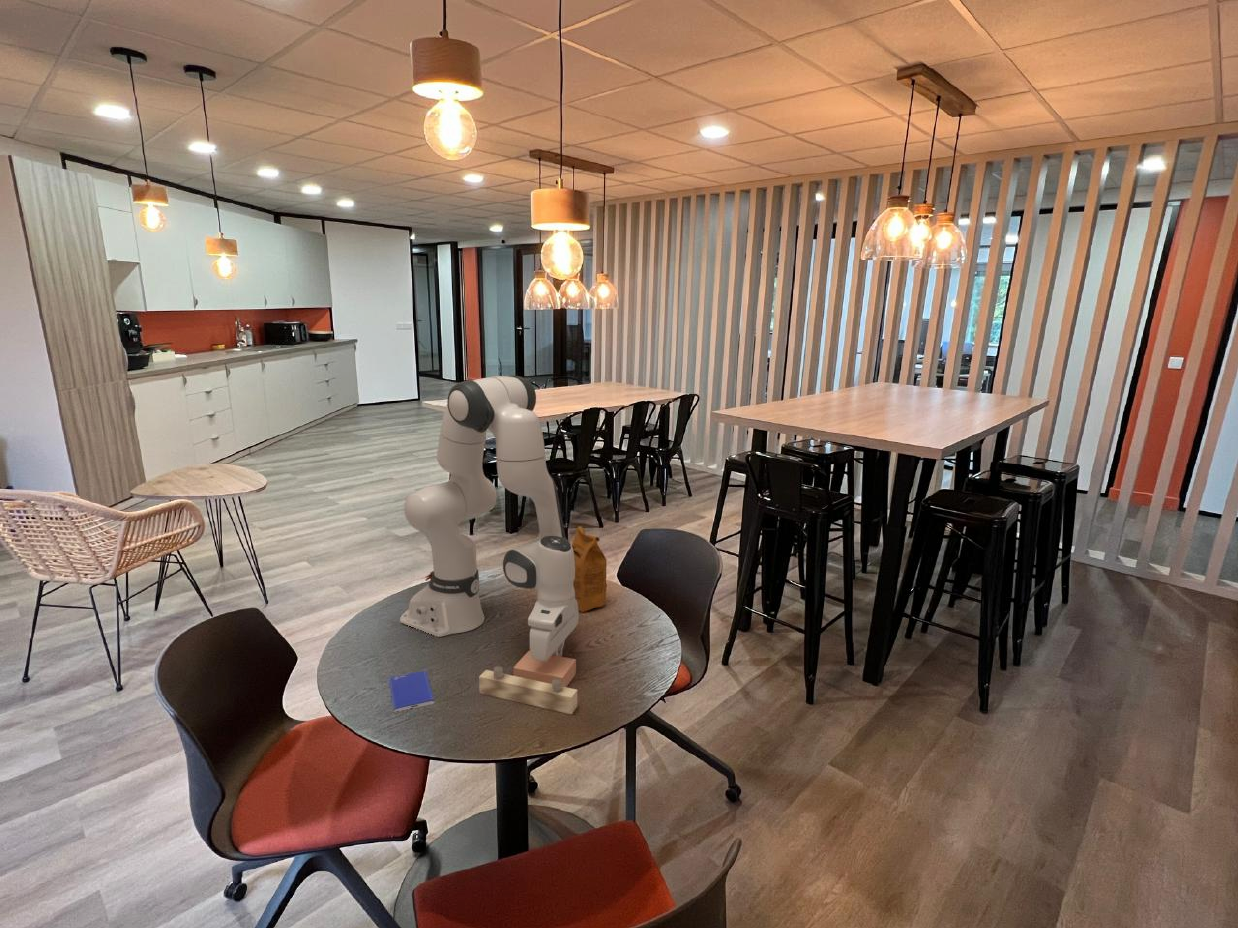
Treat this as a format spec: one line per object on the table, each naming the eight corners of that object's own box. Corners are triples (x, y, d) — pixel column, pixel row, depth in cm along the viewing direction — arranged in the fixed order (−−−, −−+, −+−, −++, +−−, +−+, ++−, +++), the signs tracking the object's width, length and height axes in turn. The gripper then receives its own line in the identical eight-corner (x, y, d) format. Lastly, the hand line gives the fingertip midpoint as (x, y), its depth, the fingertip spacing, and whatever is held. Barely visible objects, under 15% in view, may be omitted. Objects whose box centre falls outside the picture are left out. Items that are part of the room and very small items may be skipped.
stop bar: (479, 692, 139) (478, 668, 137) (486, 685, 142) (485, 661, 140) (571, 714, 132) (571, 688, 131) (577, 706, 135) (577, 681, 133)
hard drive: (388, 677, 142) (393, 708, 131) (426, 669, 146) (434, 699, 135) (389, 683, 143) (394, 714, 132) (426, 675, 146) (434, 705, 135)
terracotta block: (513, 683, 143) (513, 667, 142) (529, 665, 151) (529, 650, 150) (562, 693, 140) (562, 677, 139) (575, 674, 147) (576, 659, 146)
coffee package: (592, 591, 191) (592, 522, 186) (610, 608, 180) (611, 535, 175) (561, 597, 187) (561, 526, 182) (578, 614, 176) (578, 540, 171)
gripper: (561, 586, 157) (561, 636, 160) (524, 622, 138) (525, 678, 142) (585, 589, 155) (584, 640, 159) (550, 627, 136) (551, 684, 140)
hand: (556, 659), depth 150 cm, fingers closed
